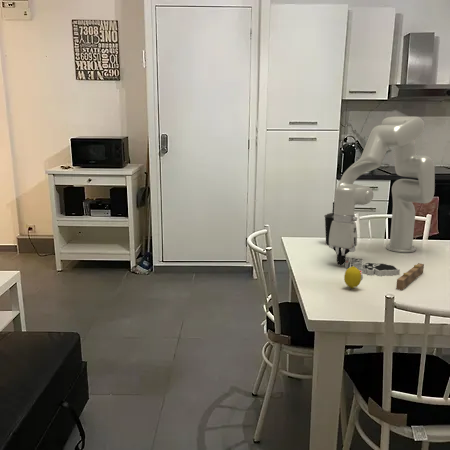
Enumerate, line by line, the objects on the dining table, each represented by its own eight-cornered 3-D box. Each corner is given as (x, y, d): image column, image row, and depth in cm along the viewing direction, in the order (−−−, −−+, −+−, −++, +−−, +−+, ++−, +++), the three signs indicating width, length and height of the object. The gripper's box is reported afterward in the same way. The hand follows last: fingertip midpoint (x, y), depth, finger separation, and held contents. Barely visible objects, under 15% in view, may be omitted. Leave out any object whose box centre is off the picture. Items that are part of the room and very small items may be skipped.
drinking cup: (341, 246, 211) (344, 203, 206) (324, 246, 211) (327, 203, 207) (337, 242, 218) (340, 200, 214) (321, 242, 218) (323, 200, 214)
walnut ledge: (417, 271, 175) (418, 261, 174) (423, 273, 174) (424, 262, 173) (396, 289, 156) (397, 277, 156) (402, 290, 155) (403, 278, 154)
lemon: (357, 292, 153) (359, 269, 152) (341, 289, 156) (342, 267, 154) (362, 287, 158) (363, 265, 156) (346, 284, 161) (347, 262, 159)
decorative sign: (346, 257, 187) (398, 261, 181) (345, 263, 188) (397, 267, 182) (343, 273, 166) (401, 279, 161) (342, 280, 167) (401, 285, 161)
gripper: (366, 219, 175) (362, 265, 179) (330, 214, 185) (327, 258, 189) (358, 222, 170) (354, 270, 174) (321, 217, 179) (319, 262, 183)
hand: (340, 264), depth 181 cm, fingers closed
